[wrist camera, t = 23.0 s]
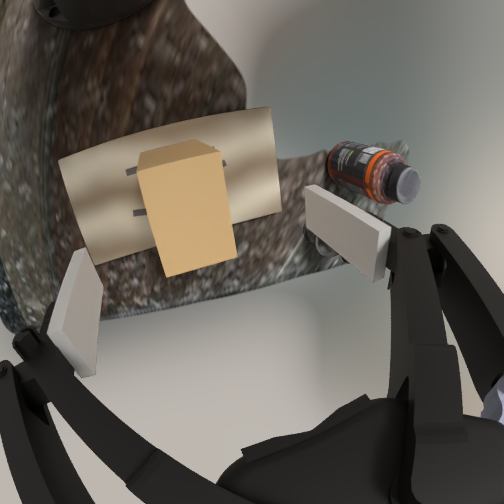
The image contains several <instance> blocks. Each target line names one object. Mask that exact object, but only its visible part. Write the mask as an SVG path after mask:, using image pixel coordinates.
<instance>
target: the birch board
mask: <svg viewBox="0 0 504 504" xmlns="http://www.w3.org/2000/svg"><path fill="white" fill-rule="evenodd" d="M194 139H196V140H198V141H200V142H203V143H205V144H207V145H209V146H211V147H213V148H215V149H217V150H219V151H221V158H222V164H223V171H224V177H225V184H226V190H227V196H228V203H229V209H230V215H231V221H232V224H235V223H239V222H243V221H246V220H250V219H254V218H257V217H261V216H265V215H269V214H272V213H276V212H280V211H282V208H281V198H280V188H279V178H278V168H277V159H276V150H275V141H274V132H273V124H272V116H271V108H270V107H262V108H254V109H246V110H239V111H233V112H227V113H221V114H215V115H210V116H204V117H199V118H195V119H190V120H185V121H181V122H176V123H172V124H168V125H164V126H160V127H156V128H152V129H148V130H145V131H141V132H138V133H134V134H131V135H127V136H124V137H121V138H118V139H115V140H111V141H108V142H105V143H102V144H99V145H97V146H94V147H91V148H88V149H85V150H83V151H80V152H77V153H75V154H72V155H70V156H67V157H65V158H62V159H60V160H58V162H59V166H60V170H61V173H62V177H63V180H64V183H65V187H66V190H67V193H68V196H69V199H70V202H71V205H72V208H73V211H74V214H75V217H76V220H77V222H78V225H79V228H80V230H81V233H82V236H83V238H84V241H85V243H86V246H87V248H88V251H89V253H90V255H91V258H92V260H93V262H94V265H98V264H101V263H104V262H107V261H110V260H114V259H117V258H120V257H123V256H126V255H129V254H133V253H136V252H139V251H142V250H146V249H149V248H152V247H156V243H155V239H154V236H153V232H152V229H151V226H150V222H149V218H148V215H147V211H146V207H145V204H144V200H143V196H142V192H141V188H140V184H139V180H138V176H137V172H136V171H137V166H138V161H139V156H140V152H144V151H148V150H152V149H155V148H159V147H163V146H167V145H171V144H176V143H180V142H184V141H189V140H194Z"/></svg>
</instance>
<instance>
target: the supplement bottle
mask: <svg viewBox="0 0 504 504" xmlns="http://www.w3.org/2000/svg"><path fill="white" fill-rule="evenodd" d="M328 172H329V175H330V177H331V178H332V180H333V181H334V182H335V183H337V184H339V185H341V186H343V187H345V188H348V189H350V190H352V191H354V192H357V193H359V194H361V195H363V196H365V197H368V198H370V199H372V200H374V201H376V202H378V203H381V204H392V203H395V202H400V203H402V204H408V203H411V202H412V201H413V200H414V199H415V198H416V196H417V194H418V192H419V188H420V175H419V173H418V171H417V170H416V169H415V168H413V167H411V166H408V165H407V164H406V162H405V160H404V159H403V158H402V157H401V156H400V155H399V154H397V153H394V152H391V151H387V150H384V149H380V148H376V147H372V146H368V145H363V144H359V143H355V142H349V141H345V142H341V143H339V144H337V145H336V146H335V147H334V148H333V149H332V151H331V153H330V155H329V157H328Z"/></svg>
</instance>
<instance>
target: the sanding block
mask: <svg viewBox="0 0 504 504" xmlns="http://www.w3.org/2000/svg"><path fill="white" fill-rule="evenodd" d="M136 172H137V176H138V180H139V184H140V188H141V192H142V196H143V200H144V204H145V207H146V211H147V215H148V218H149V222H150V226H151V229H152V232H153V236H154V239H155V243H156V246H157V249H158V252H159V256H160V259H161V262H162V265H163V268H164V271H165V274H166V277H171V276H174V275H178V274H181V273H184V272H188V271H191V270H195V269H198V268H202V267H205V266H209V265H212V264H215V263H219V262H222V261H226V260H229V259H233V258H236V257H237V252H236V246H235V240H234V234H233V228H232V221H231V215H230V209H229V203H228V196H227V190H226V184H225V177H224V171H223V164H222V158H221V151H219V150H217V149H215V148H213V147H211V146H209V145H207V144H205V143H203V142H200V141H198V140H196V139H194V140H189V141H184V142H180V143H176V144H171V145H167V146H163V147H159V148H155V149H152V150H148V151H144V152H140V156H139V161H138V166H137V171H136Z"/></svg>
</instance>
